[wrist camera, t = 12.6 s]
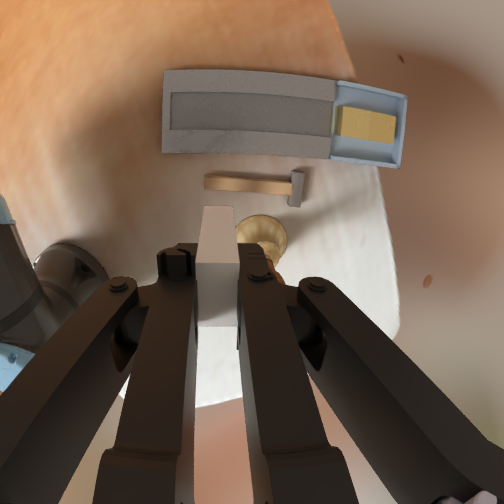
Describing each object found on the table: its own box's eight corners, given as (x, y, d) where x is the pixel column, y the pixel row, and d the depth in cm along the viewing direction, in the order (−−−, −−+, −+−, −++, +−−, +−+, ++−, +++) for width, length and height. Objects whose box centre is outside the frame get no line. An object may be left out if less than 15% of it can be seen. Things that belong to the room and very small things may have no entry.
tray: (326, 157, 42) (332, 160, 39) (332, 81, 37) (339, 80, 35) (390, 165, 43) (399, 169, 40) (398, 95, 38) (407, 95, 36)
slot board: (164, 151, 39) (161, 153, 38) (166, 72, 35) (163, 70, 33) (324, 157, 42) (329, 159, 40) (331, 81, 37) (335, 80, 36)
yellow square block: (332, 134, 40) (340, 136, 37) (335, 106, 38) (343, 106, 35) (358, 137, 40) (368, 140, 38) (361, 110, 39) (370, 111, 36)
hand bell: (271, 204, 44) (296, 253, 30) (295, 250, 48) (326, 312, 33) (220, 232, 45) (221, 291, 31) (247, 275, 49) (259, 345, 34)
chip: (358, 137, 40) (367, 140, 38) (361, 110, 39) (370, 111, 36) (383, 141, 41) (393, 144, 38) (385, 115, 39) (396, 116, 36)
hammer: (203, 197, 43) (203, 200, 41) (205, 163, 41) (205, 165, 40) (297, 204, 45) (300, 207, 43) (302, 171, 43) (305, 173, 41)
